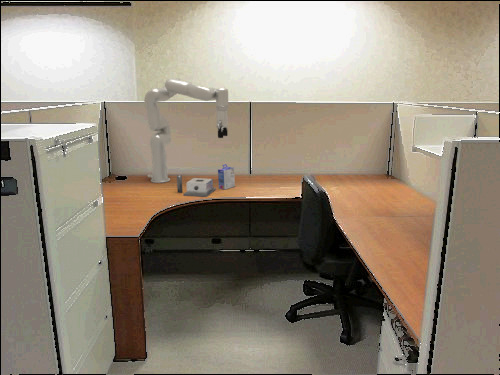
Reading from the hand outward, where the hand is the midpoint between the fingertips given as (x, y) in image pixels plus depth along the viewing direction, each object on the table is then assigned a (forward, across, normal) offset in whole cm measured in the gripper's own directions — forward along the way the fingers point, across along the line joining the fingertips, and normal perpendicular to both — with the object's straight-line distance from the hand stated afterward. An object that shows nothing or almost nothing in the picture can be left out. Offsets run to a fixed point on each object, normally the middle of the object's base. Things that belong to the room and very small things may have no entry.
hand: (222, 136), depth 272 cm
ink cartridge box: (+31, +7, +4) cm, 32 cm away
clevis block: (+31, +22, -8) cm, 38 cm away
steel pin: (+31, +24, -20) cm, 44 cm away
